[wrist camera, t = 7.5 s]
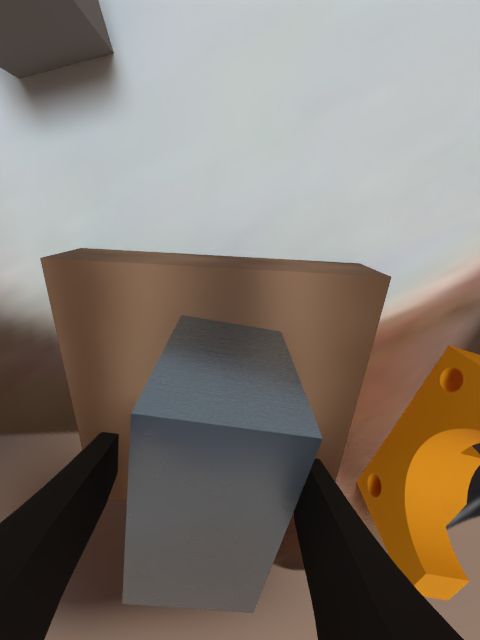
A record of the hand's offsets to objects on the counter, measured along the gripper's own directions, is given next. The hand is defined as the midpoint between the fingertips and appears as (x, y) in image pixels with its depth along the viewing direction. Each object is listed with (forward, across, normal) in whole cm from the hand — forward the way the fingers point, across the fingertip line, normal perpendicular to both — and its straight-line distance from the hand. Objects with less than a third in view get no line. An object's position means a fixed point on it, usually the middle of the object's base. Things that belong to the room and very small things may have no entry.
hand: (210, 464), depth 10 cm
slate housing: (+3, 0, -1) cm, 3 cm away
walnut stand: (+6, 0, 0) cm, 6 cm away
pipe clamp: (+7, -14, +2) cm, 16 cm away
